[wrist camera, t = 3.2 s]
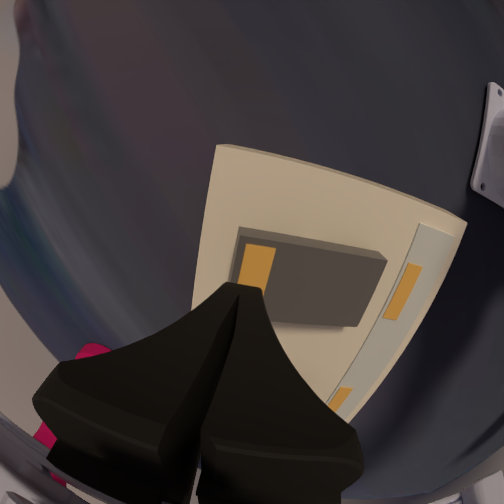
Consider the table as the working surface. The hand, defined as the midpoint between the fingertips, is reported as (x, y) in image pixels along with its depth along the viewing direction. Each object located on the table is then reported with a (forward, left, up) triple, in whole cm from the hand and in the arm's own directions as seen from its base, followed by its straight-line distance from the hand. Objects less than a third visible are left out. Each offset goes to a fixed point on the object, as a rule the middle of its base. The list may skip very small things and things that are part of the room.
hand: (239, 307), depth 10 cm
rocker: (-3, 0, -3) cm, 4 cm away
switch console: (-4, +5, -7) cm, 10 cm away
